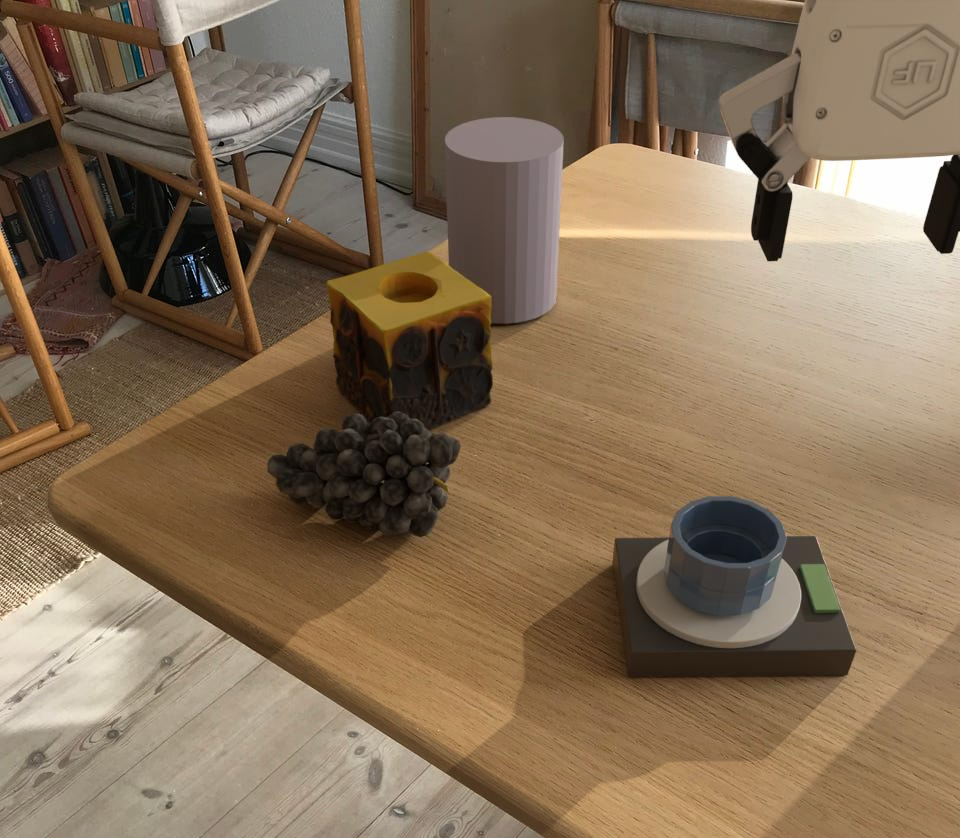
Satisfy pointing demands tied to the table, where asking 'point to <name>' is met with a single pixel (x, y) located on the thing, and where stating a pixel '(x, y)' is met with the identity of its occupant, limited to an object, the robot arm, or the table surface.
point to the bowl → (724, 555)
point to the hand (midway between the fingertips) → (852, 246)
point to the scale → (731, 620)
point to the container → (506, 212)
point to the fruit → (372, 473)
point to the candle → (412, 340)
